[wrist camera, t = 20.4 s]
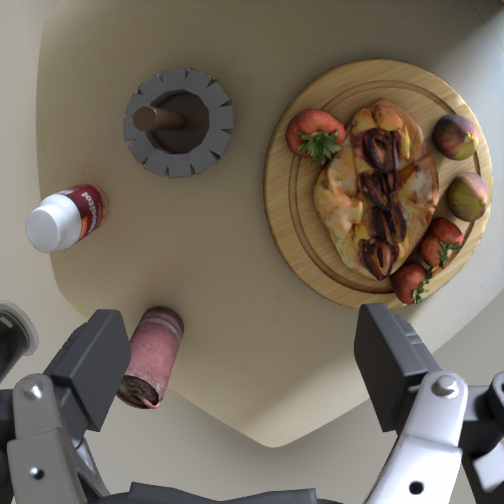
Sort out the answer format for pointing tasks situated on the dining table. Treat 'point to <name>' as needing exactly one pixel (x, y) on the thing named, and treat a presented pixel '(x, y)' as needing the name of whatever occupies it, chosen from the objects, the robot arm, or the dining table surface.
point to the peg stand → (175, 122)
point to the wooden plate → (377, 184)
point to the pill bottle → (66, 217)
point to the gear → (214, 140)
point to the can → (151, 358)
